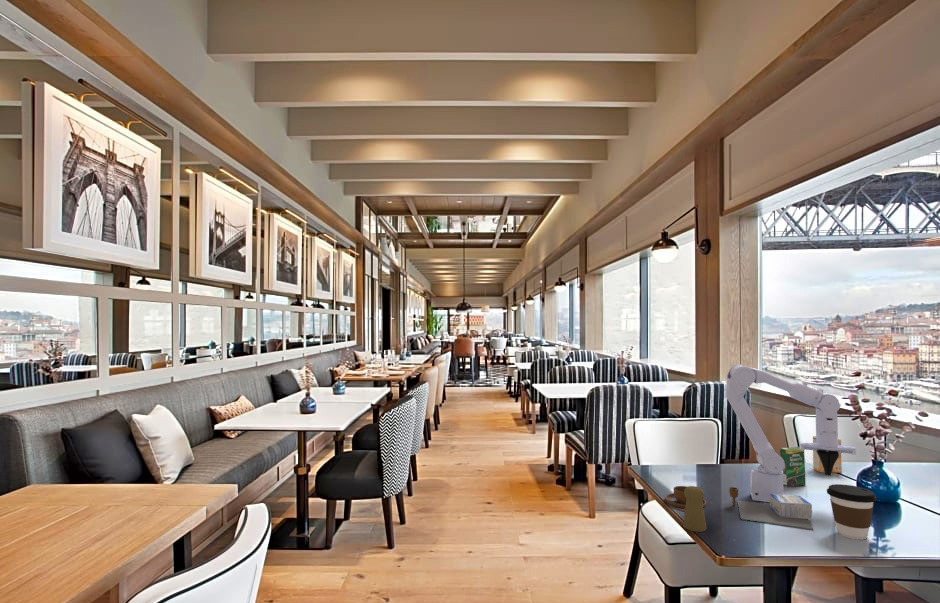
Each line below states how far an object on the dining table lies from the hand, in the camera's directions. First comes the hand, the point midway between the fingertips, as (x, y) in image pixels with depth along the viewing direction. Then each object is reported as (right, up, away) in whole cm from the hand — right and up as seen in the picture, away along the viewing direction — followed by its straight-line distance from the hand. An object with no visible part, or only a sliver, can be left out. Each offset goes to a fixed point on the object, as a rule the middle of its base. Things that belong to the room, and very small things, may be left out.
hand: (827, 474), depth 162 cm
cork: (-50, -8, -19) cm, 55 cm away
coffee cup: (-10, -8, -24) cm, 27 cm away
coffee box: (+2, -11, +20) cm, 22 cm away
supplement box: (+26, -12, +38) cm, 48 cm away
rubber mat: (-23, -9, -9) cm, 26 cm away
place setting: (-41, -10, -2) cm, 42 cm away
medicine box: (-13, -6, -10) cm, 18 cm away
